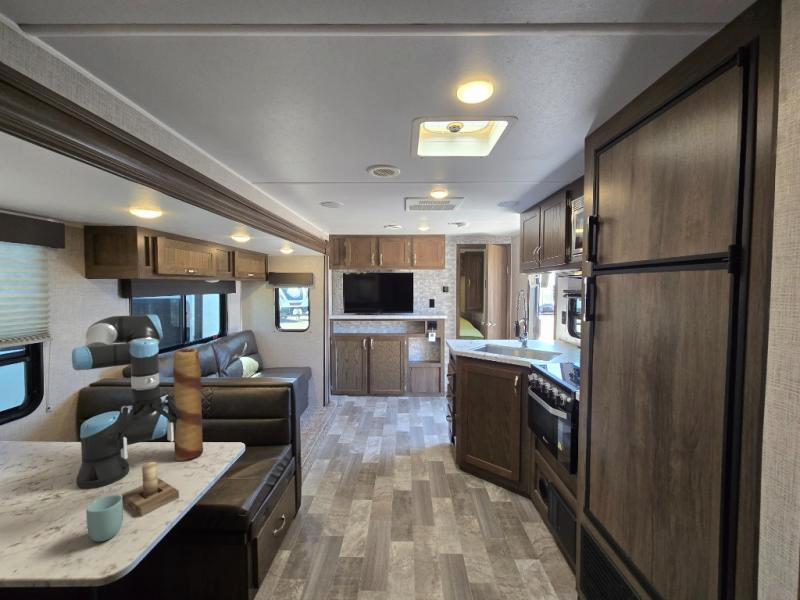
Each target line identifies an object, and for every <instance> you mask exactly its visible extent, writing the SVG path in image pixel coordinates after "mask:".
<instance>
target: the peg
mask: <svg viewBox="0 0 800 600" xmlns="http://www.w3.org/2000/svg"><path fill="white" fill-rule="evenodd" d="M141 469H142V470H141V471H142V472H141V473H142V485H143V497H144V499H147V498H149V497H151V496H153V495H155V494H158V462H156V461H152V462H151V461H150V462H148V463H145V464H143V465H142V466H141Z"/></svg>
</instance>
